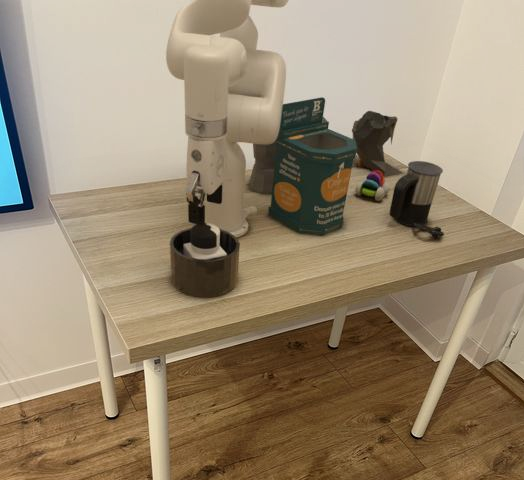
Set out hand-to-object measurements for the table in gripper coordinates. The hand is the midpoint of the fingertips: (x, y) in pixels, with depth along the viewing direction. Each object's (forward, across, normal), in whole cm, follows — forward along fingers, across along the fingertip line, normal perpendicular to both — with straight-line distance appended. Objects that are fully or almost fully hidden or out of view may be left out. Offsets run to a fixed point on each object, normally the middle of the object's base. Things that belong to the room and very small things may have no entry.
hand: (205, 212), depth 106 cm
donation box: (+17, +38, -16) cm, 44 cm away
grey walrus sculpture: (+18, +84, -26) cm, 89 cm away
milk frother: (+17, +47, -44) cm, 66 cm away
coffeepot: (+17, +52, +1) cm, 54 cm away
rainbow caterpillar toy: (+17, +61, -29) cm, 70 cm away
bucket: (+16, -1, 0) cm, 16 cm away
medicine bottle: (+15, -1, 0) cm, 15 cm away
